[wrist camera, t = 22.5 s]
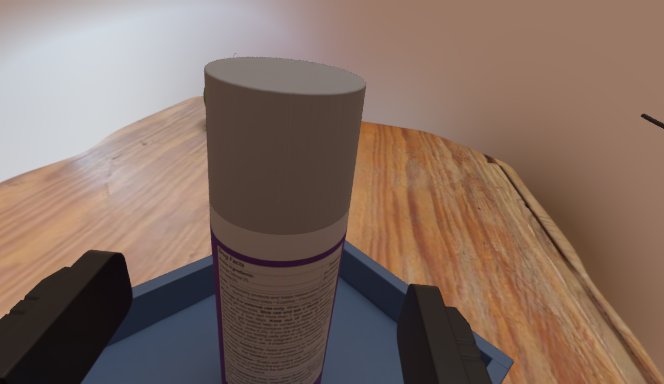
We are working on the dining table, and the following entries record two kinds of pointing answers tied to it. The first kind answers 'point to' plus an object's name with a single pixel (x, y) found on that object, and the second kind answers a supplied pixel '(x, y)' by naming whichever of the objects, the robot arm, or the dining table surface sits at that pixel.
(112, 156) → the dining table surface
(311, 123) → the container
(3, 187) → the dining table surface
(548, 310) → the dining table surface
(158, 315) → the tray
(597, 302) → the dining table surface
